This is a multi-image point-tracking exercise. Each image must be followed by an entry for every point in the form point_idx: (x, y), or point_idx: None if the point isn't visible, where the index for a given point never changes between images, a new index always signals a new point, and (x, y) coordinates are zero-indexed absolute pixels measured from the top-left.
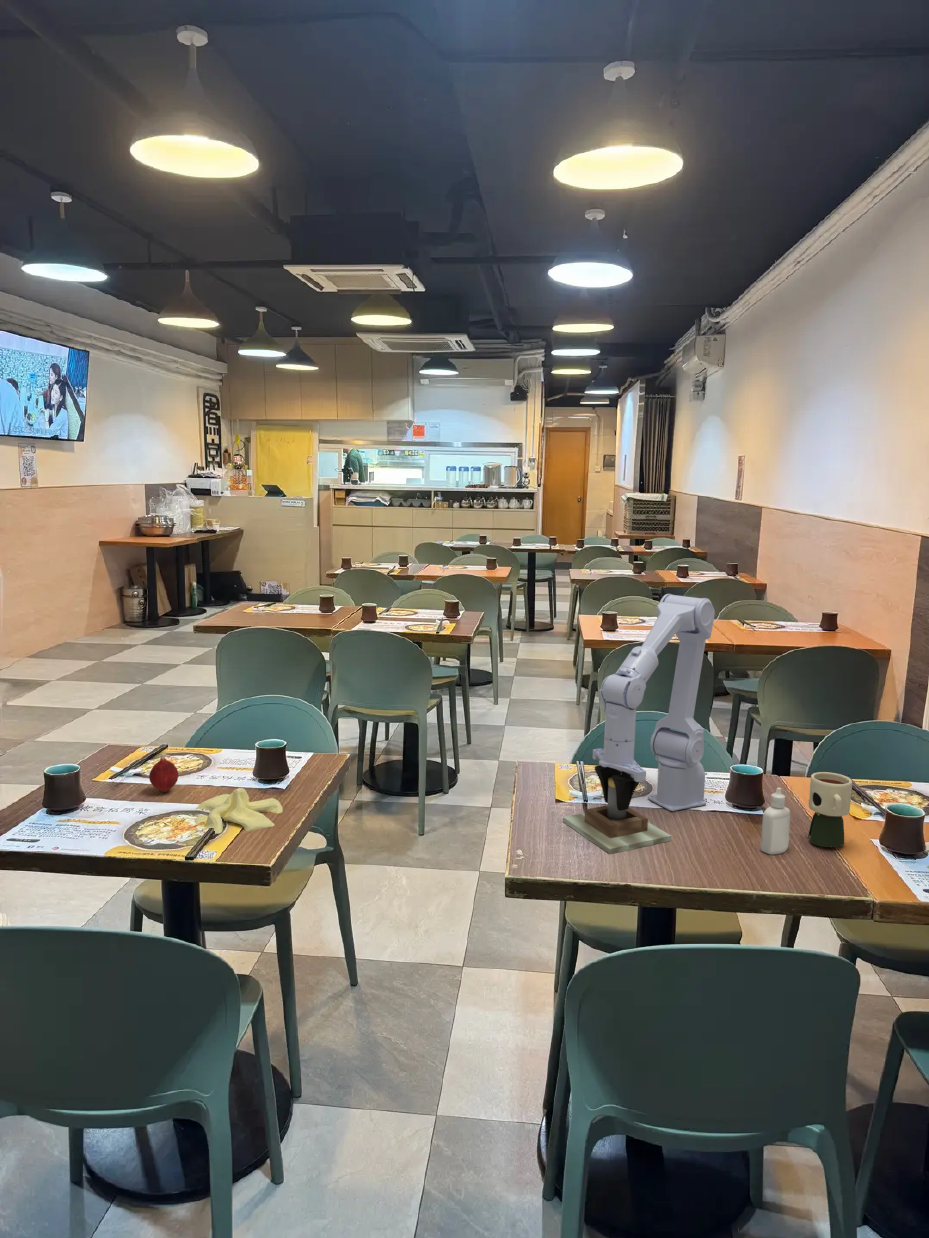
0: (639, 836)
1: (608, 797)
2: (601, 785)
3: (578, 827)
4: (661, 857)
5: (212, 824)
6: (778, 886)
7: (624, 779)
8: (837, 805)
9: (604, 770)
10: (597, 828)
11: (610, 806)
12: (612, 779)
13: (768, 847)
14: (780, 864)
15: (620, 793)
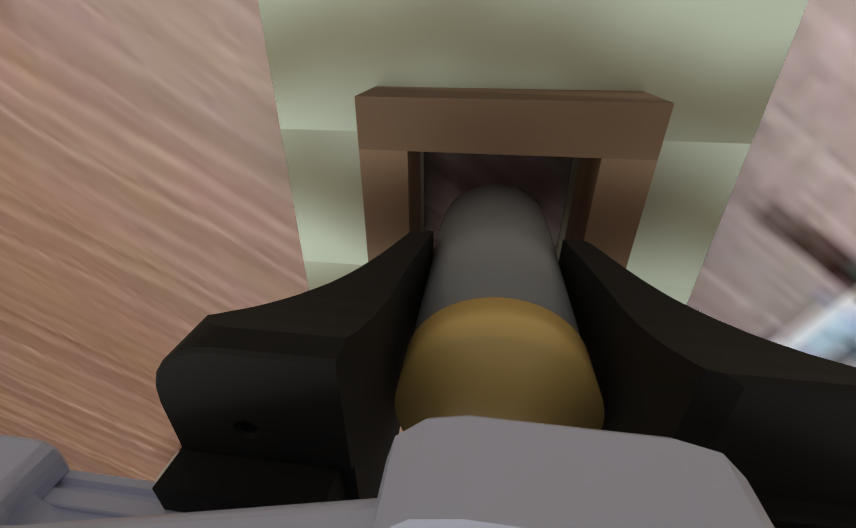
0: (348, 232)
1: (521, 244)
2: (656, 289)
3: None
4: (201, 203)
5: None
6: (4, 352)
7: (165, 397)
8: None
9: (678, 432)
10: (499, 88)
11: (486, 215)
12: (536, 383)
13: (166, 465)
14: (128, 432)
15: (334, 281)
